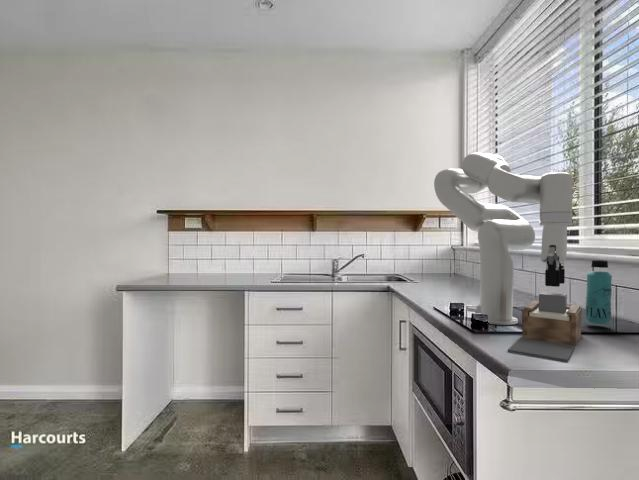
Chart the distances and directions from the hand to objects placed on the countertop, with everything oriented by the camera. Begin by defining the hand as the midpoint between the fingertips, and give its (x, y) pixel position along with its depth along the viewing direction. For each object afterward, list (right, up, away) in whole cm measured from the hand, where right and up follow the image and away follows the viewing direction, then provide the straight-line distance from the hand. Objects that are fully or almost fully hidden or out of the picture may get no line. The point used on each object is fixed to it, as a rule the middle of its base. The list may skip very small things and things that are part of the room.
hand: (555, 284), depth 110 cm
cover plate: (0, -8, +1) cm, 8 cm away
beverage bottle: (+21, -14, +14) cm, 29 cm away
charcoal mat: (-10, -14, -12) cm, 21 cm away
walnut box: (0, -14, +1) cm, 14 cm away
